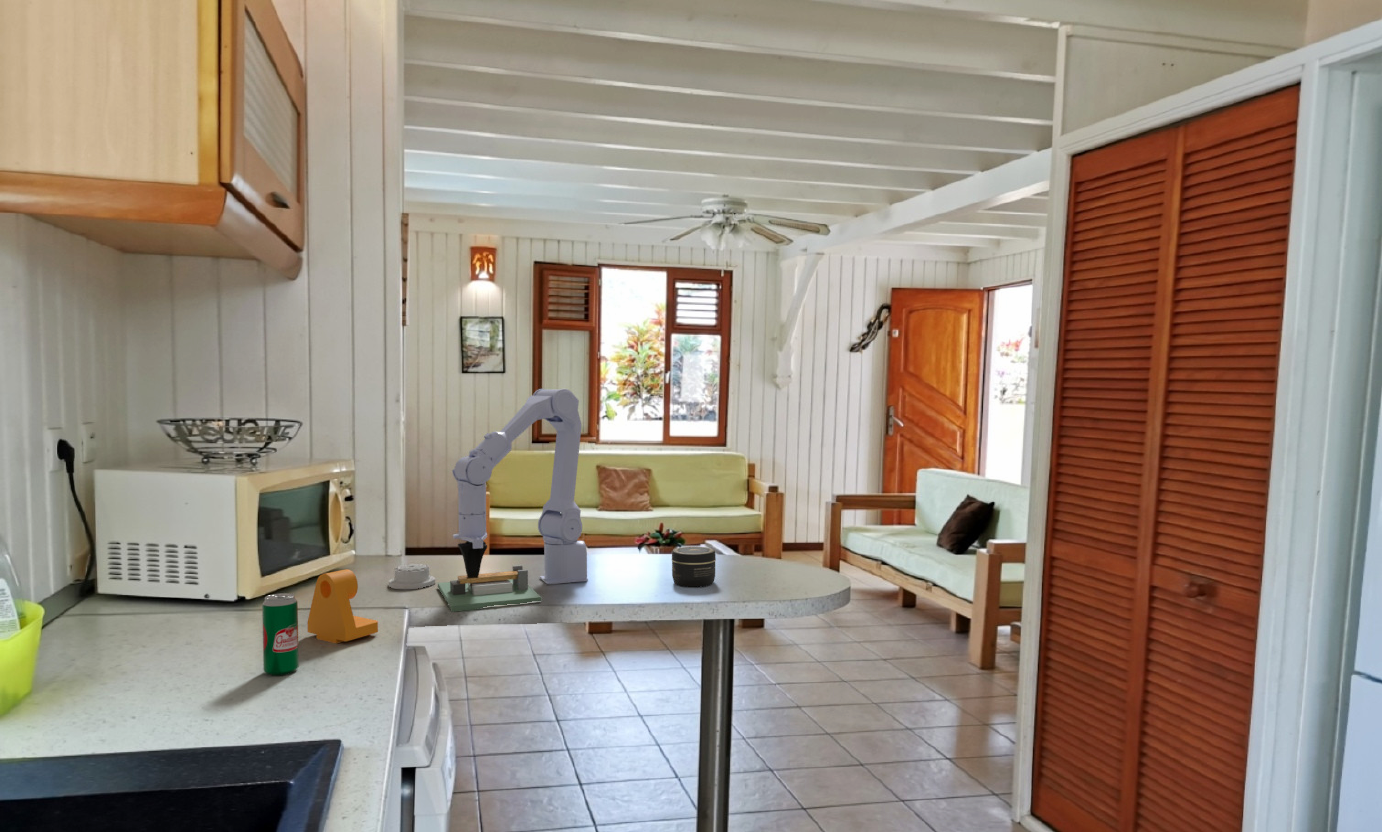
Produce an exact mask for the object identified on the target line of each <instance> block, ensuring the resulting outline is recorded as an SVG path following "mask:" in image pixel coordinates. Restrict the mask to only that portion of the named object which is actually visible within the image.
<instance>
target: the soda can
mask: <svg viewBox="0 0 1382 832" xmlns="http://www.w3.org/2000/svg"><path fill="white" fill-rule="evenodd" d="M295 596H296V595H295V594H294V593H289V592H283V593H274V594H270V595H267V596H265V597H264V601H263V603H262V604H261V605H262V608H261V610H262V612H261V613H262V615H261V616H262V655H263V656H262V659H263V661H262V662H263V672H264V673H265V674H267V675H268V676H276V677H278V676H286V675H289V674H292V673H294V672H296V671H297V669H298V668H299V666H300V664H299V663H300V660H299V658H300V657H299V653H300V652H299V618H298V617H299V615H298V613H299V610H298V603H299V602H298V600H297V599H296V597H295Z"/></svg>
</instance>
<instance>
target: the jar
mask: <svg viewBox="0 0 1382 832" xmlns="http://www.w3.org/2000/svg"><path fill="white" fill-rule="evenodd" d="M716 557H717V556H716V551H715V549H714V548H711V547H706V546H681V547H676V548H674V549H672V551H671V575H672V580H673V583H674V584H675V586H678V587H681V588H687V589H688V588H694V589H696V588H697V589H698V588H706V587H710V586H712V585H713V583H714V582H715V579H716V560H717V558H716Z"/></svg>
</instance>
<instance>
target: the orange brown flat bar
mask: <svg viewBox="0 0 1382 832" xmlns="http://www.w3.org/2000/svg"><path fill="white" fill-rule="evenodd" d="M510 579H518V570H516V571H513V570H509V571H501V572H500V571H498V572H488V573H487V572H485V573H479V575H478V577H468V576H467V574H465V575H457V580H458V582H459V583H460V584H466V583H477V582H488V581H499V580H510Z"/></svg>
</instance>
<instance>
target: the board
mask: <svg viewBox="0 0 1382 832" xmlns="http://www.w3.org/2000/svg"><path fill="white" fill-rule="evenodd" d="M516 570H518V579H510V580H499V581H488V582H477V583H466V584H460V583H459V582H458V579H457V580H450V581H446V582H437V589H438V588H439V589H438V591H439V590H440V591H439V592H441V593H442V594H441V593H440V594H441V596H442V595H443V596H444V598H445V599H446V601H447V602H448V604H449V606H450V608H449V609H450V611H451V612H452V613H453V612H464V611H472V610H473V611H474V610H481V608H483V607H487V606H494V605H507V604H520V603H527V602H532V601H541V602H542V596H540V594H539V593H537V592H536V591H535V590H534V589H533V588H532V587H531V586H530V585H529V571H528V569H523V565H522V564H517V565H512V571H516ZM443 596H442V597H443ZM444 598H443V599H444ZM445 599H444V600H445ZM446 601H445V602H446ZM448 604H447V605H448ZM449 606H448V607H449Z"/></svg>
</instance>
